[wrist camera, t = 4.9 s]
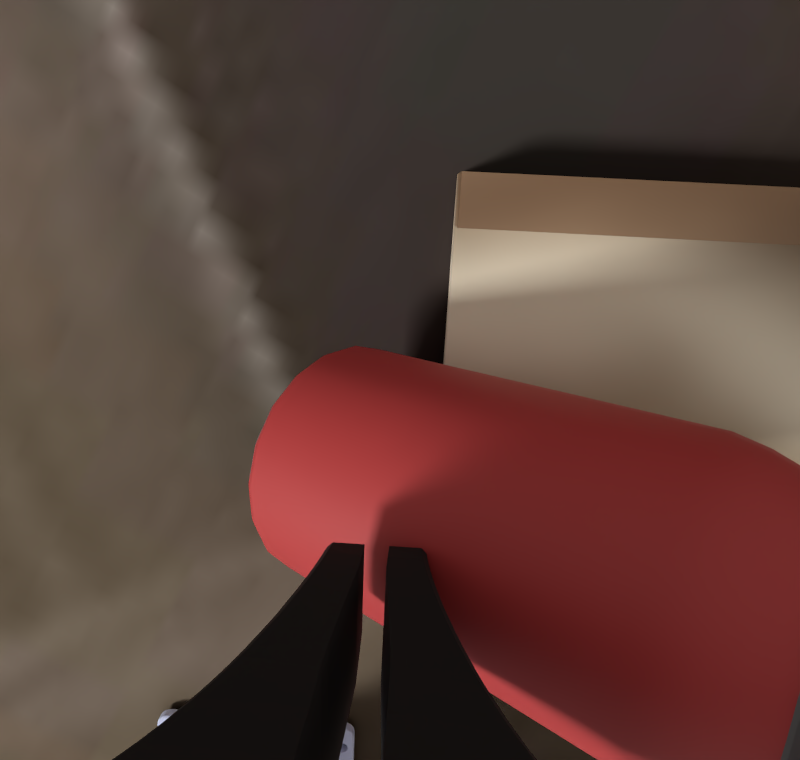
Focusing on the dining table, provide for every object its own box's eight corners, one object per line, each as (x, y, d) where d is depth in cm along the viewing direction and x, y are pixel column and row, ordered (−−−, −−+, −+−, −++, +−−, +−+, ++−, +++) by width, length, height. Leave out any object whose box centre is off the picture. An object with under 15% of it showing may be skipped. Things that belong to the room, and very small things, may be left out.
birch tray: (851, 649, 21) (898, 700, 19) (424, 621, 21) (424, 667, 19) (1018, 201, 16) (1106, 202, 14) (457, 174, 16) (462, 171, 14)
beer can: (322, 295, 15) (918, 394, 8) (426, 407, 20) (850, 531, 13) (186, 521, 13) (800, 927, 6) (336, 583, 18) (774, 847, 11)
